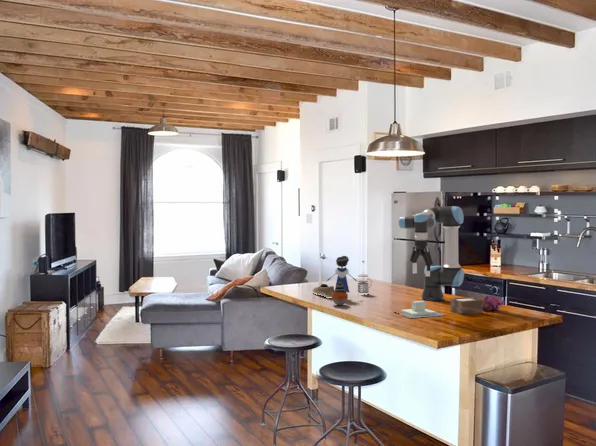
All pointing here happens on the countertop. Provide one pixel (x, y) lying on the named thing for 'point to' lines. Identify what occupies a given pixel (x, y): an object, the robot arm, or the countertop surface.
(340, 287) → the grenade
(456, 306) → the storage box
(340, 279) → the figurine
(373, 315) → the countertop surface
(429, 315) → the mat
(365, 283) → the french press
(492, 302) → the anatomical model
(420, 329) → the countertop surface
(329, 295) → the slip on shoe
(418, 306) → the lid
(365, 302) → the countertop surface
